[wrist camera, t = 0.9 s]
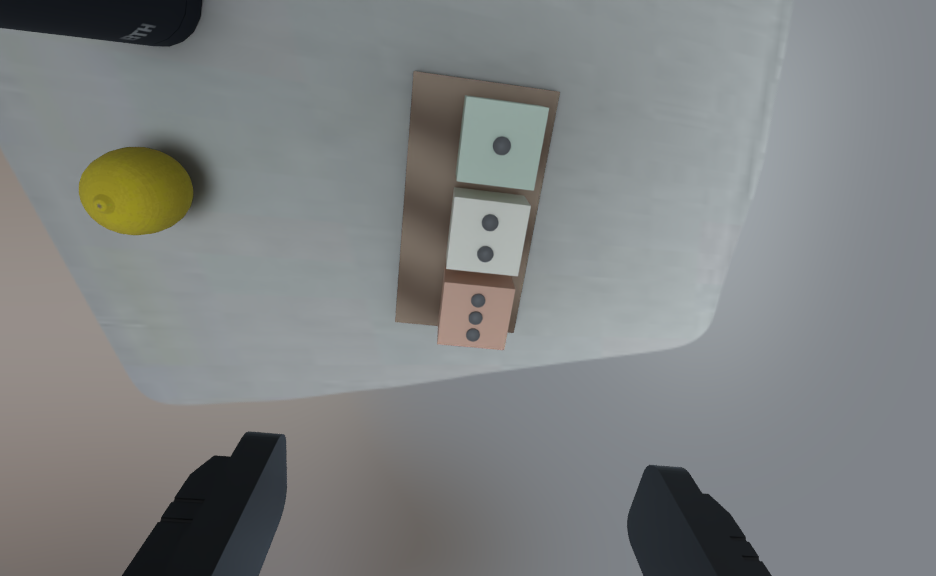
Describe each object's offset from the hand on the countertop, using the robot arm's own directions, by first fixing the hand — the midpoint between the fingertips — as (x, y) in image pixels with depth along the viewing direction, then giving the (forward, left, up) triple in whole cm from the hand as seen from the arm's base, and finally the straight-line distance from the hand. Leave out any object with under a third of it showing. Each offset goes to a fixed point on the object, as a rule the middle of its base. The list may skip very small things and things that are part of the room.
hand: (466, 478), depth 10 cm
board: (+1, +1, -28) cm, 28 cm away
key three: (+7, +2, -25) cm, 26 cm away
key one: (-5, +2, -25) cm, 25 cm away
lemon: (+1, -21, -28) cm, 35 cm away
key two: (+1, +2, -25) cm, 25 cm away
